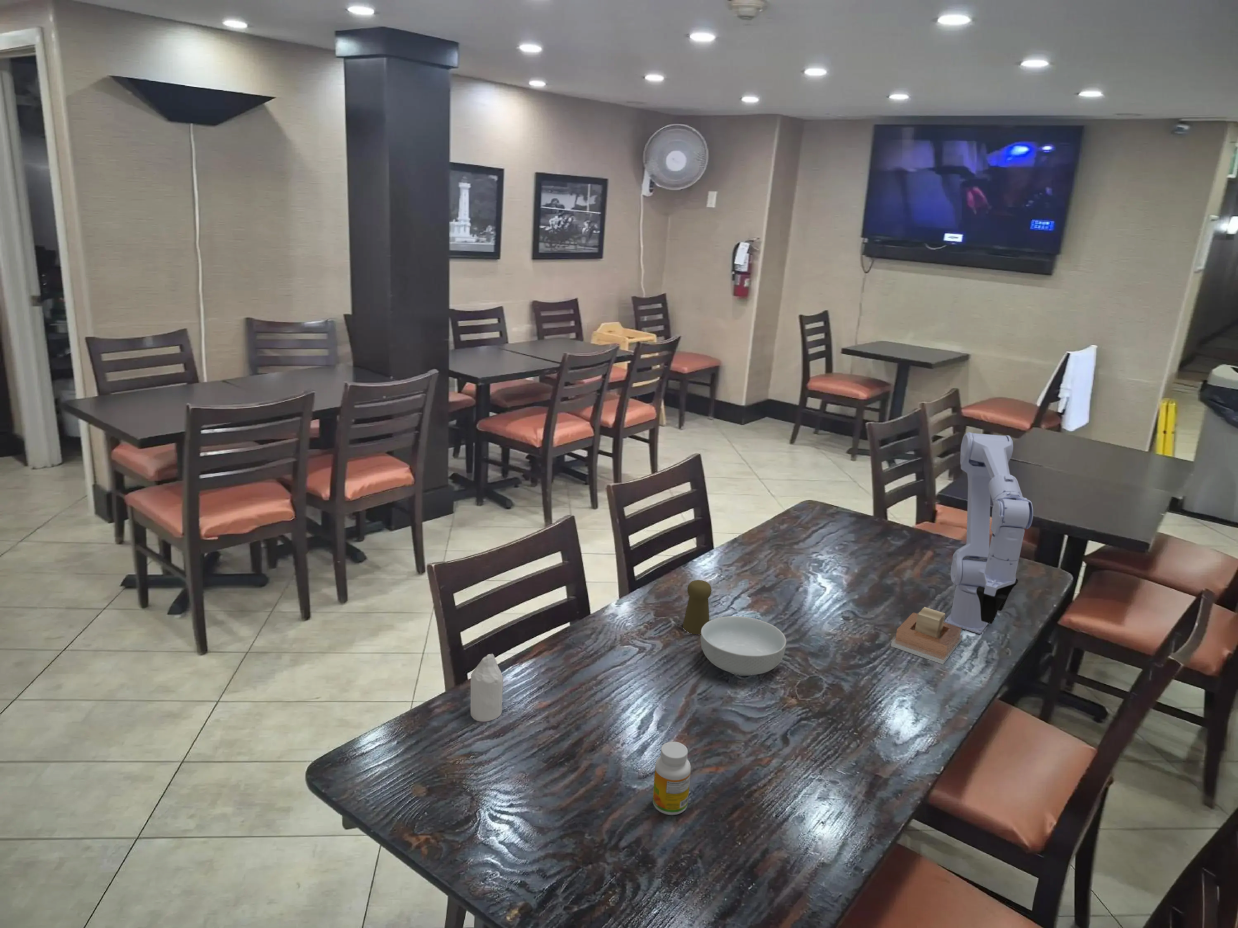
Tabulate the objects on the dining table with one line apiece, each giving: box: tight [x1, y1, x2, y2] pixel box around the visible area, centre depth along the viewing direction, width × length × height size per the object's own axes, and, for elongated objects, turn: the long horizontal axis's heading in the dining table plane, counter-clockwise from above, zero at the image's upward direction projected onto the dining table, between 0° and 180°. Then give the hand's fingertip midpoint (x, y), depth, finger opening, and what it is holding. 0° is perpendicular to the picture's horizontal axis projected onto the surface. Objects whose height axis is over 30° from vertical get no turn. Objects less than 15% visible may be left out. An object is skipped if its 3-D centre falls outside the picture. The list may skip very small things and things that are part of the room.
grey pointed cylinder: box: [470, 653, 504, 723], centre depth 142 cm, size 6×12×6 cm
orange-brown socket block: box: [890, 612, 964, 665], centre depth 176 cm, size 14×11×4 cm
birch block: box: [915, 606, 946, 639], centre depth 175 cm, size 4×4×6 cm
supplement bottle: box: [652, 741, 692, 816], centre depth 122 cm, size 5×5×10 cm
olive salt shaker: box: [682, 579, 713, 635], centre depth 176 cm, size 6×6×11 cm
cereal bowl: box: [699, 615, 787, 677], centre depth 162 cm, size 17×17×7 cm
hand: (991, 615), depth 169 cm, fingers open, 7 cm apart
